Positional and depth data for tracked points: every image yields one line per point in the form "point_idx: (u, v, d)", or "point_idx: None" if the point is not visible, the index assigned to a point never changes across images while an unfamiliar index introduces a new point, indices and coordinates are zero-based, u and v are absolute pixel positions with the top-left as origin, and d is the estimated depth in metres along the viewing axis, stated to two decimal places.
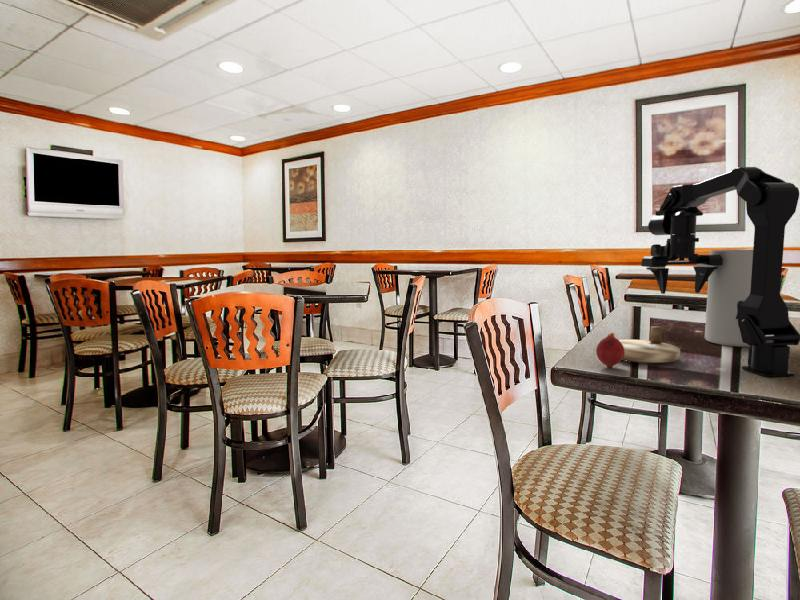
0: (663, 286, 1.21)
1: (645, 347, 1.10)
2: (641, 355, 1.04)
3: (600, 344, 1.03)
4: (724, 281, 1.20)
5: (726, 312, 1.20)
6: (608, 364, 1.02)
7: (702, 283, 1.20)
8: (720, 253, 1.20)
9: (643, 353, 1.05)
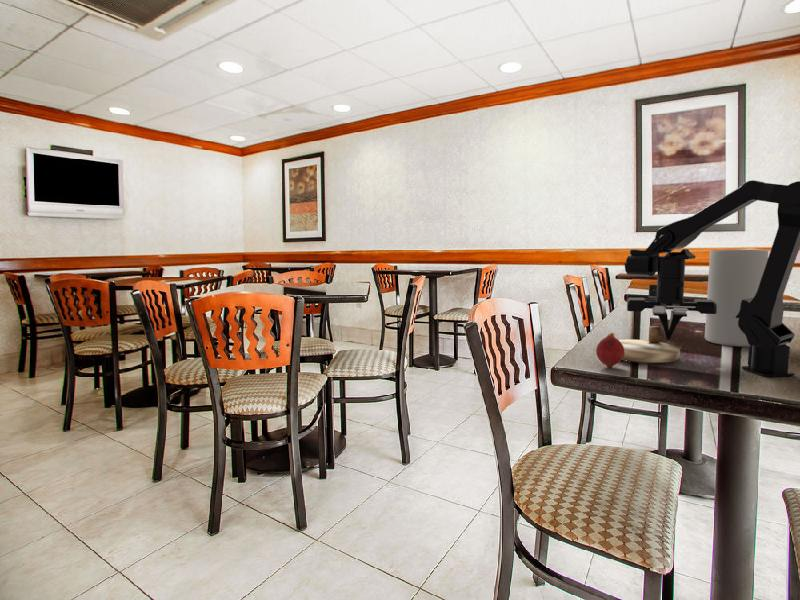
0: (665, 332, 1.13)
1: (645, 347, 1.10)
2: (643, 355, 1.04)
3: (600, 344, 1.03)
4: (724, 281, 1.20)
5: (726, 312, 1.20)
6: (608, 364, 1.02)
7: (670, 330, 1.12)
8: (720, 253, 1.20)
9: (645, 353, 1.05)
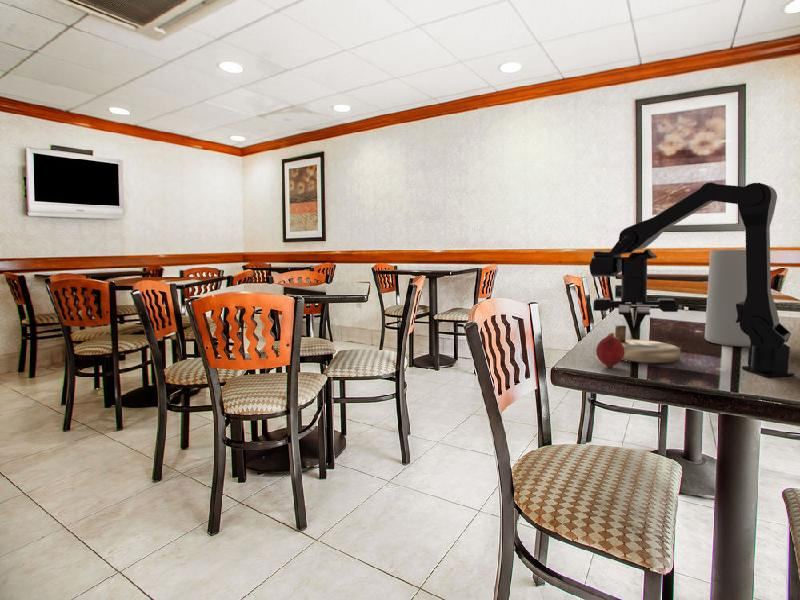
0: (630, 330, 1.16)
1: (646, 346, 1.11)
2: (679, 352, 1.06)
3: (600, 344, 1.03)
4: (724, 281, 1.20)
5: (726, 312, 1.20)
6: (608, 364, 1.02)
7: (635, 329, 1.15)
8: (720, 253, 1.20)
9: (675, 350, 1.07)
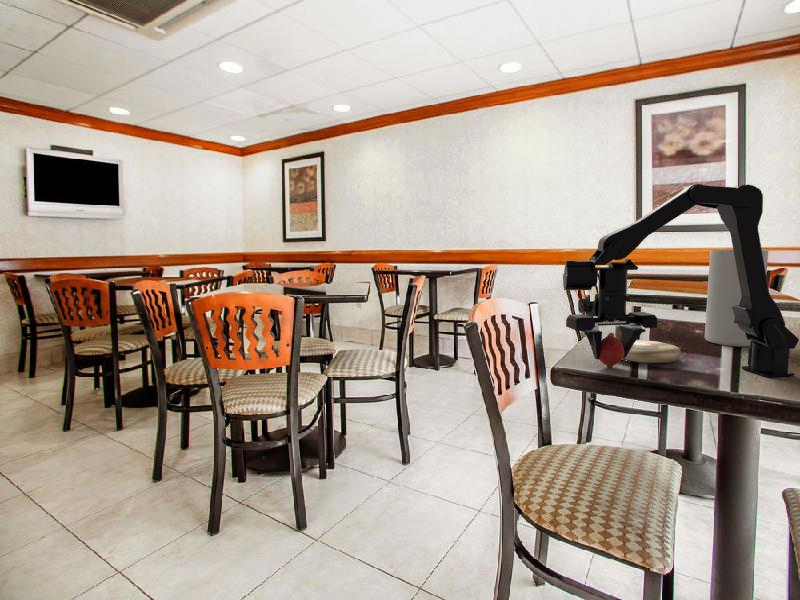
0: (596, 351, 1.02)
1: (646, 346, 1.11)
2: (679, 352, 1.06)
3: None
4: (724, 281, 1.20)
5: (726, 312, 1.20)
6: (608, 364, 1.02)
7: (628, 348, 1.02)
8: (720, 253, 1.20)
9: (675, 350, 1.07)
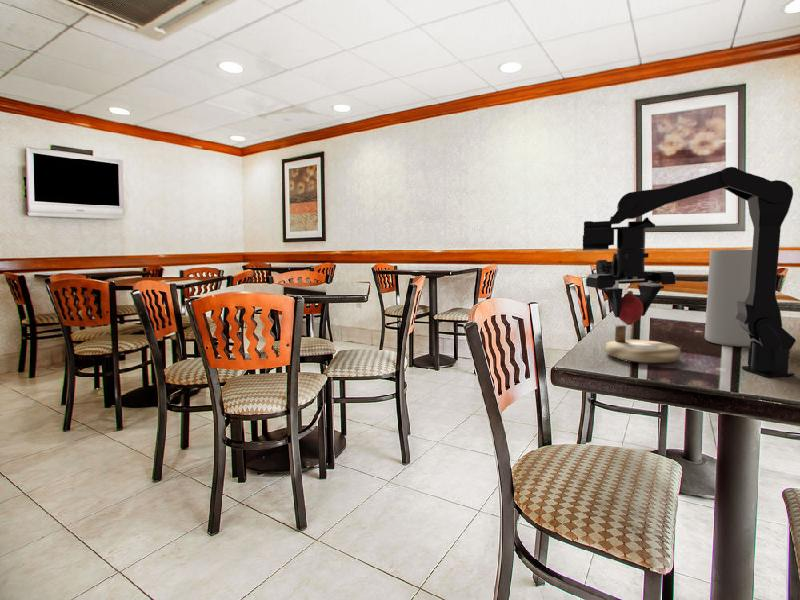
0: (617, 309, 1.04)
1: (646, 346, 1.11)
2: (679, 352, 1.06)
3: None
4: (724, 281, 1.20)
5: (726, 312, 1.20)
6: (628, 321, 1.05)
7: (647, 305, 1.05)
8: (720, 253, 1.20)
9: (675, 350, 1.07)
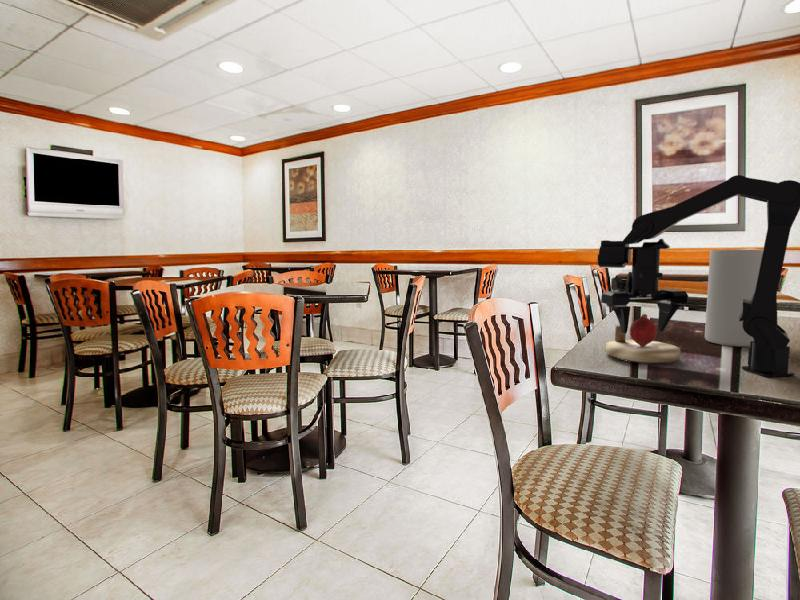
0: (624, 325, 1.09)
1: (646, 346, 1.11)
2: (679, 352, 1.06)
3: (634, 325, 1.10)
4: (724, 281, 1.20)
5: (726, 312, 1.20)
6: (641, 343, 1.10)
7: (666, 322, 1.09)
8: (720, 253, 1.20)
9: (675, 350, 1.07)
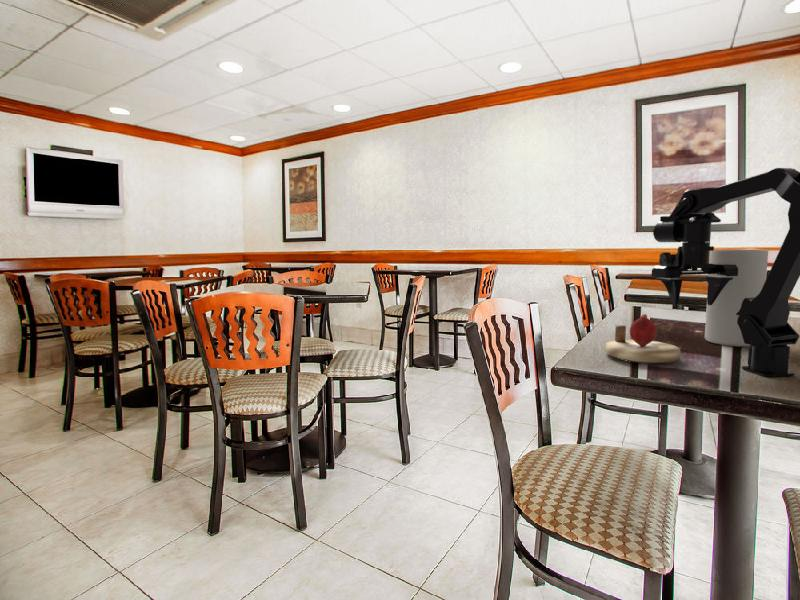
0: (675, 298, 1.11)
1: (646, 346, 1.11)
2: (679, 352, 1.06)
3: (634, 325, 1.10)
4: None
5: (726, 312, 1.20)
6: (641, 343, 1.10)
7: (716, 295, 1.12)
8: (720, 253, 1.20)
9: (675, 350, 1.07)
